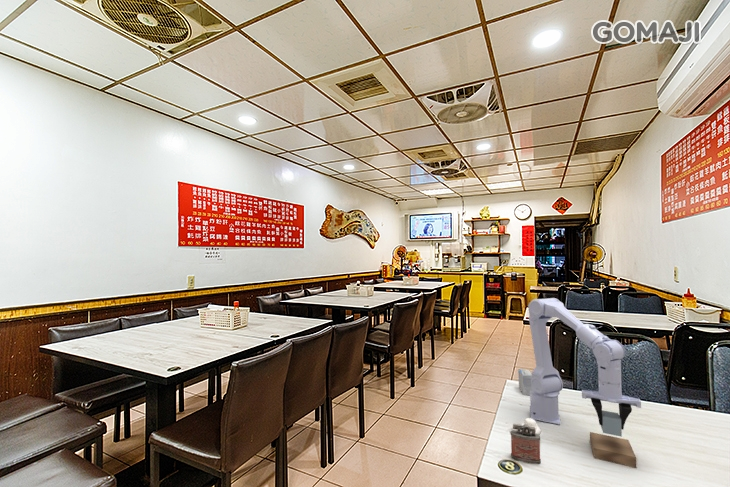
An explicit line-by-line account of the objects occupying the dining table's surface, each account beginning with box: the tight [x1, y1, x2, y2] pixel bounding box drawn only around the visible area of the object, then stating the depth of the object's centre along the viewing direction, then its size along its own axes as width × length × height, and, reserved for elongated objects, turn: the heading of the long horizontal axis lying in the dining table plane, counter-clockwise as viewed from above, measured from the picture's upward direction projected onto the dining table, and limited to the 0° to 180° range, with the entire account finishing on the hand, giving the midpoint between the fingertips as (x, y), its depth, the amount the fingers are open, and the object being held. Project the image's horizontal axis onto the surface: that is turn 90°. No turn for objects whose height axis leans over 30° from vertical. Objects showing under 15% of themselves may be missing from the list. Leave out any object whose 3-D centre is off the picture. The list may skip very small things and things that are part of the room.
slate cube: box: [600, 409, 623, 438], centre depth 102 cm, size 4×4×5 cm
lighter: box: [509, 423, 542, 465], centre depth 100 cm, size 8×3×10 cm, turn 71°
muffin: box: [520, 417, 542, 436], centre depth 110 cm, size 6×6×7 cm
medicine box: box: [518, 368, 534, 396], centre depth 147 cm, size 8×4×9 cm, turn 168°
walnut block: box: [589, 431, 637, 469], centre depth 102 cm, size 10×10×3 cm
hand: (610, 425), depth 102 cm, fingers closed on slate cube, 4 cm apart
